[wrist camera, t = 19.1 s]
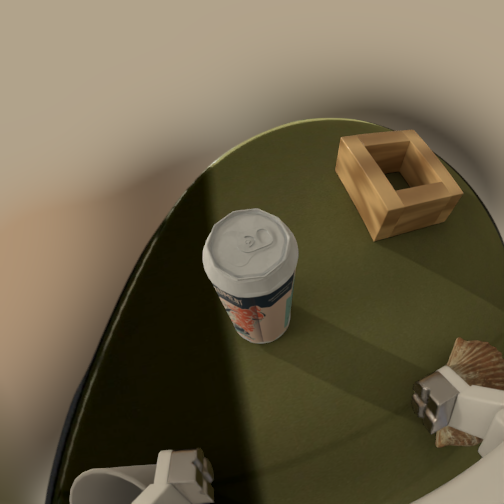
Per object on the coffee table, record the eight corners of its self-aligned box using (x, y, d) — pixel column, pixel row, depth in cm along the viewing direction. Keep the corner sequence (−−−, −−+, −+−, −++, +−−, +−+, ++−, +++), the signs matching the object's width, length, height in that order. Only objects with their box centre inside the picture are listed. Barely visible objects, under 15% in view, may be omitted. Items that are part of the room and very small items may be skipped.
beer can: (225, 303, 25) (186, 222, 15) (275, 282, 26) (272, 189, 15) (246, 354, 23) (217, 306, 12) (299, 330, 23) (317, 263, 13)
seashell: (403, 441, 18) (474, 443, 15) (436, 454, 12) (517, 449, 9) (426, 339, 22) (492, 349, 19) (462, 318, 15) (534, 330, 13)
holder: (444, 221, 27) (463, 193, 23) (373, 242, 27) (388, 210, 22) (403, 159, 32) (413, 129, 28) (334, 170, 32) (340, 136, 27)
